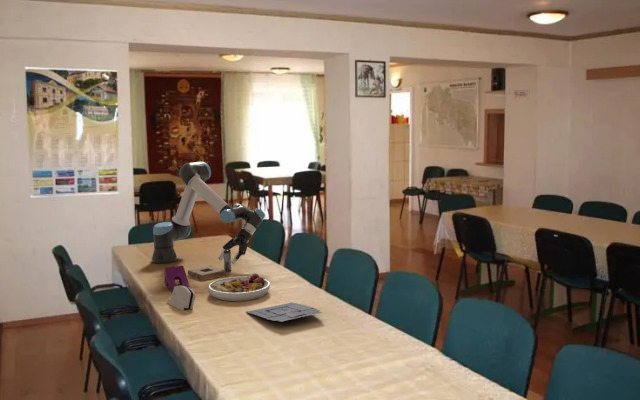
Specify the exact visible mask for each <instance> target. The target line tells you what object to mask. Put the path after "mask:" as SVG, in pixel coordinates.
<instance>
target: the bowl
mask: <svg viewBox="0 0 640 400" xmlns="http://www.w3.org/2000/svg"><path fill="white" fill-rule="evenodd" d="M270 286H271V285H270V281H269V280H267V279H265V278H264V277H262V276H260V275H259V274H258V273H252V274H251V275H250V276H232V277H231V276H230V277H225V278H222V279H217V280H214V281H212V282H211V283H209V285H208V291H209V293H210V295H211V296H212V297H213V298H215V299H218V300H222V301H226V302H245V301H246V302H247V301H251V300H255V299H259V298H262V297H263V296H265V295H266V294H267V293H268V292H269V290H270Z"/></svg>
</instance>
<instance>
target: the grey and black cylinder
mask: <svg viewBox="0 0 640 400" xmlns="http://www.w3.org/2000/svg"><path fill="white" fill-rule="evenodd" d="M231 250H232V249H227V250H224V258H223V270H225V272H231V271H232V263H231V261H232V255H231V253H232V251H231Z"/></svg>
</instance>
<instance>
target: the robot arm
mask: <svg viewBox="0 0 640 400" xmlns="http://www.w3.org/2000/svg"><path fill="white" fill-rule="evenodd" d="M211 175H212V170H211V168H210V165H209V164H208V163H206V162H205V161H196V162H187V163H184V164H183V165H182V166H181V167H180V169H179V178H180V179H181V181H182V183H183V184H184V185H185V186H184V187H185V188H184V189H183V193H182V196H181V198H180V201H179V205H178V208H177V210H176V212H175V215H173V216H172V217H171V220H170V221H163V222H159V223H156V224H155V225H153V226H152V227H153V228H152V229H153V230H152V234H153V236H152V237H153V251H152V252H153V253H152V255H151V263H153V264H171V263H174V262H176V261H177V260H178V256H177V253H176V251H175V248H174V242H178V241H183V240H185V239H186V238H188V236H190V234H191V232H192V231H191V230H192V228H191V222H190V217H191V215H192V212H193V209H194V206H195V203H196V200H197V198H198V196H200V197H201V198H202V199H203V200H204V201H205V202H206V203H207V204H208V205H209V206H210V207H211V208H213V209H214V210H215V211H216V212H217V214H219V216H220V217H219V218H220V220H221V222H223V223H225V224H226V223H233V222H235V221H240V220H243V221H244V224H243V225H242V226H241V229H240V230H239V231H238V232H237V235H238V236H236V235H233V237H232V238H231V239H230V240H228V241H227V242H226V243H225V244H224V245H222V251H221V252H220V254H219V255H218V257H217V259H218V260H219V261H223V260H224V250H227V249H229V250H232V249H233V248H234V247H237V246H238V251H237V252H236V253H235V255H234V256H233V258H231V265H233V266H234V265H236V263H237V262H238V261H239V259H240V258H241V257H242V256H245V255H246V252H247V249H248V246H249V243H250V239H251V238H252V236H253V234H254V233H255V232H256V230H257V229H258V227H259V226H260V225H261V224H262V222H263V220H264V219H265V218H266V214H265V212H264V211H263V210H262V209H260V208H255V209H254V210H252V209H251V208H248V207H247V206H245V205H243V204H240V203H235V204H234V205H233V206H231V205H229V204H228V203H227V202H226V201H225V200H224V199H223V198H222V197H221V196H220V195H219V194H218V193H216V192H215V190H214V189H212V188H211V187H210V186H209V185H208V184H207V183H205V182H206V181H207V180H209V179H210V178H211Z"/></svg>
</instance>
